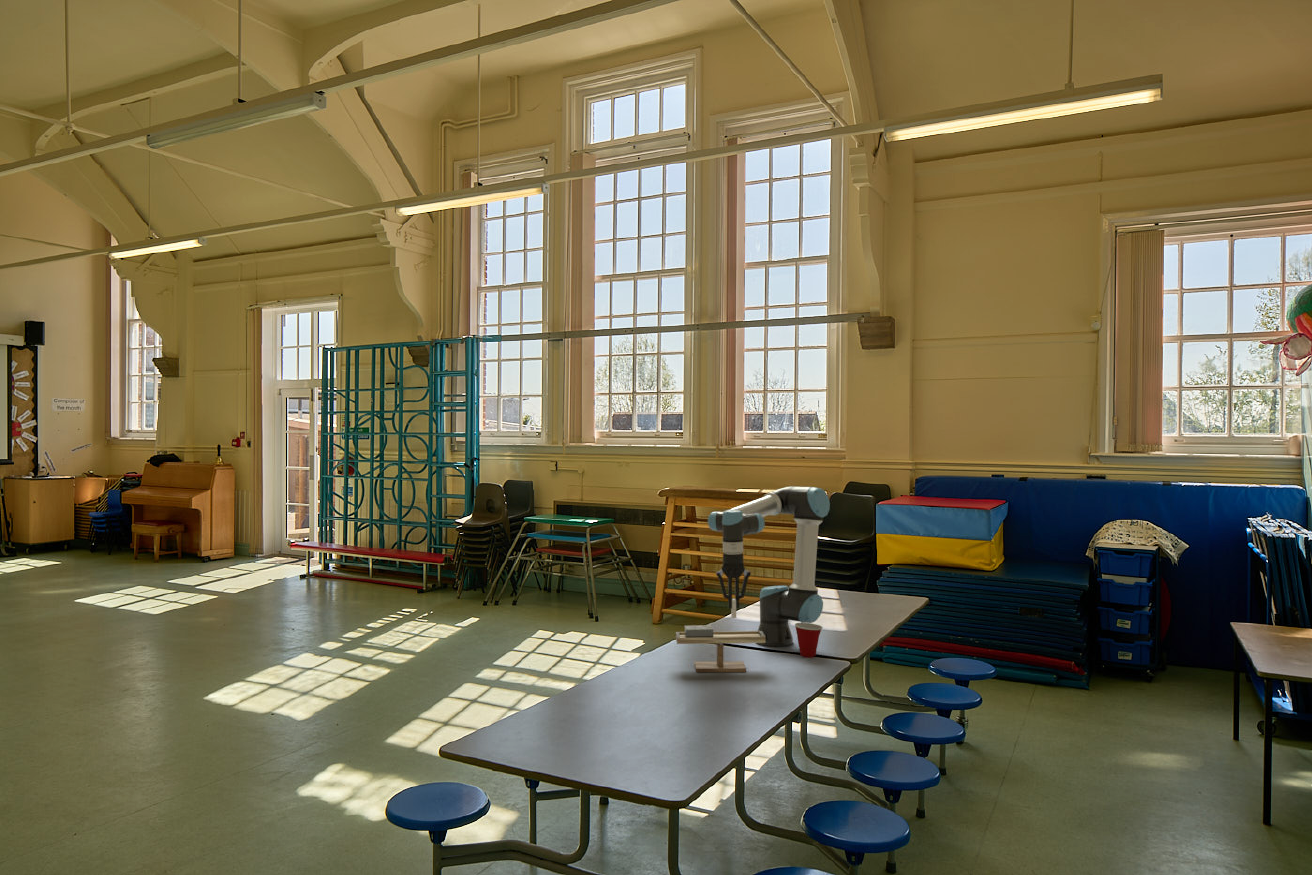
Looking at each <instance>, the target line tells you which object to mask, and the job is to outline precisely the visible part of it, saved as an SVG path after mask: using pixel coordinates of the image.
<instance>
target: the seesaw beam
mask: <svg viewBox="0 0 1312 875" xmlns="http://www.w3.org/2000/svg"><path fill="white" fill-rule="evenodd" d="M675 640H676V642H675V643H676V645H687V644H688V645H690V644H691V645H695V644H696V645H697V644H698V645H699V644H700V645H701V644H703V645H704V644H709V645H710V644H717V643H719V644H720V646H722V645H723V646H724V644H758V643H765V635H764V633H763V632H762V631H758V630H747V631H746V630H743V631H741V630H740V631H739V630H738V631H737V630H735V631H734V630H733V631H729V630H728V631H727V630H726V631H713V637H685V631H676V632H675Z"/></svg>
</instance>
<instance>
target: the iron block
mask: <svg viewBox="0 0 1312 875" xmlns="http://www.w3.org/2000/svg"><path fill="white" fill-rule="evenodd" d="M684 632H685V637H713V632H714V628H713V626H712V624H711V625H710V624H708V625H707V624H706V625H701V624H700V625H699V624H698V625H695V624H692V625H684Z"/></svg>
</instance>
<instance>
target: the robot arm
mask: <svg viewBox="0 0 1312 875" xmlns="http://www.w3.org/2000/svg"><path fill="white" fill-rule="evenodd" d="M830 504H831V503H830V498H829V495H828V493H827V491H826V490H825V489H823V488H820V487H814V486H792V485H791V486H790V485H789V486H785V487H782V488H778V489H775V490H772V491H770V492H767V493H765V494H764V495H763V497H760V498H757V499H755V500H751V501H749V502H747V503H744V504H741V505H738V506H735V507H733V508H729V509H726V510H724V511H718V510H717V511H712V512H711V513H710V514H709V515H708V518H707V525H708V527H709V529H710V530H711V531H714V532H715V531H716V532H722V552H723V554H722V566H721V568H720V570H718V571H716V572H715V574H716V576H717V578H718V581H719V584H720V588H721V593H722V596H723V598H725V599H727V600H728V601H727V602H728V608H729V609H731V615H730V616H731V618H732V619H737V609H739V608H740V599H743V598H744V597H745V593H746V589H747V585H748V580H749V578H750V576H751V575H752V574H751V573H752V572H751V571H750V570H747V569H746V567H745V565H744V536H745V535H747V536H749V535H756V534H758V533H761V532H762V531H763V530H764V529H765V526H766V525H765V523H766V522H765V517H767V516H777V515H793V521H794V522H795V523H796V536H795V537H796V538H795V551H794V563H793V565H794V566H793V576H792V578H793V579H792V583H791V584H790V585H772V586H764V587H762V588H761V590H760V593H759V625H758V629H757V631H762V632H763V633H764V635H765V643H757V644H758V645H761V646H764V647H765V646H766V647H787V646H786V645H788V646H791V645H793V643H794V641H793V640H794V638H793V634H792V631H791V628H790V625H789V621H794V622H798V623H811V624H814V623H815V622H816V621H817V620H818V619H819V618H820V617H821V615H822V612H823V608H824V601H823V598H822V596H821V595H820V594H819V593H818V592H819V590H818V587H817V586H816V585H815V584H816V583H815V580H816V570H817V569H816V567H817V566H816V565H817V554H818V552H817V551H818V538H819V527H820V526H819V525H821V524H822V523H823V521H824V517H827V516H828V514H829V512H830V508H831V507H830V506H831V505H830ZM723 575H725V577H726V578H727V590H726V587H725V582H724V579H723ZM742 575H743V576H744V577H743V579H742V580H743V581H742V585H741V590H740V578H741V576H742ZM733 579H734V597H735V598H733ZM790 644H791V645H790Z"/></svg>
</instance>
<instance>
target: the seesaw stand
mask: <svg viewBox="0 0 1312 875" xmlns="http://www.w3.org/2000/svg"><path fill="white" fill-rule="evenodd" d="M694 668H695V672H696V673H735V672H736V673H746V672H747V666H746V665H745V663H744V661H739V660H738V661H737V660H736V661H735V660H734V661H724V644H723V645H722V646H720V644H719V643H716V661H694Z"/></svg>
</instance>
